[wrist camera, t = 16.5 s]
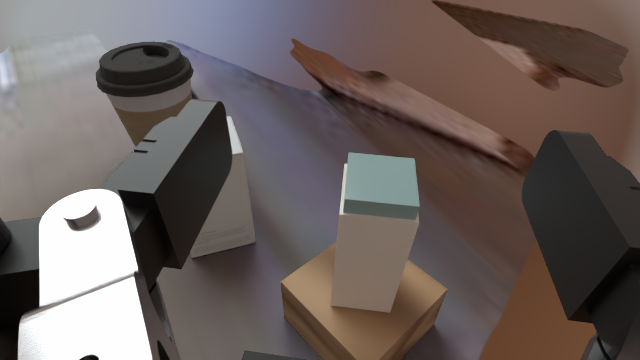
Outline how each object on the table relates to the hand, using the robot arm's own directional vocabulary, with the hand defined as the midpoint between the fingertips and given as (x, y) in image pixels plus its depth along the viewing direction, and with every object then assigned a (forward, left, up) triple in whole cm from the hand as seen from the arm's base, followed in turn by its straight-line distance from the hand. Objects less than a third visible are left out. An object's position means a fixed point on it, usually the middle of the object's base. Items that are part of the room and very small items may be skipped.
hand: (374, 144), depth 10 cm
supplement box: (-3, +26, -28) cm, 38 cm away
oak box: (+6, +9, -28) cm, 30 cm away
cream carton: (+6, +9, -22) cm, 24 cm away
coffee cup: (-7, +43, -28) cm, 51 cm away
